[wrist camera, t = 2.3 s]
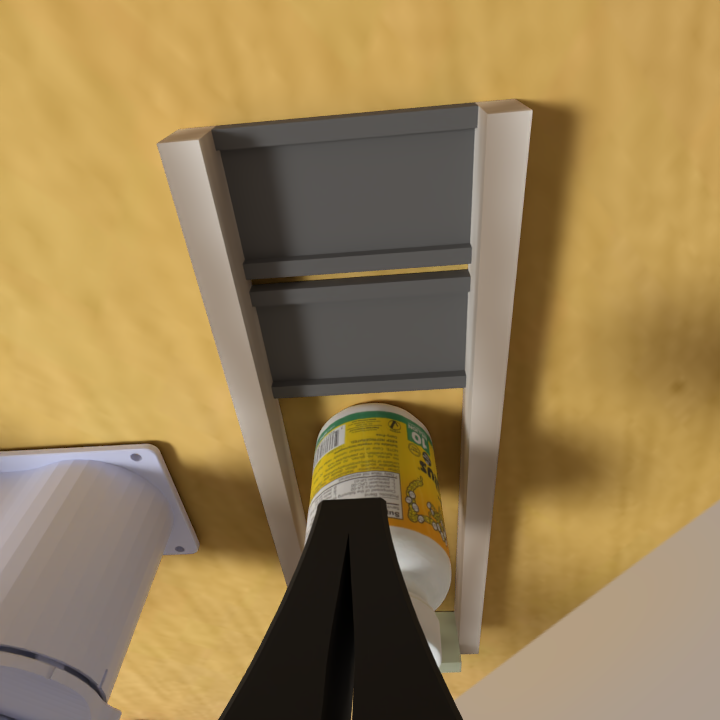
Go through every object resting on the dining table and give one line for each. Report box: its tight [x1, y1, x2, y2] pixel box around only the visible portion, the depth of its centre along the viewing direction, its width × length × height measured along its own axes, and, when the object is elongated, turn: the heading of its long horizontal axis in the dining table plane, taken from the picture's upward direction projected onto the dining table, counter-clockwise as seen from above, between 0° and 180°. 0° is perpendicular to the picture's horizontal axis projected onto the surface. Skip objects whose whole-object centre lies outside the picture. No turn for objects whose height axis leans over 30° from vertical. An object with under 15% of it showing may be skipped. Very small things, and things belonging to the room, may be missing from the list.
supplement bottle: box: [304, 403, 451, 668], centre depth 20 cm, size 5×5×10 cm
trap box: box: [157, 99, 533, 673], centre depth 23 cm, size 10×30×3 cm, turn 5°
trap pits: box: [211, 103, 478, 399], centre depth 18 cm, size 8×10×1 cm
